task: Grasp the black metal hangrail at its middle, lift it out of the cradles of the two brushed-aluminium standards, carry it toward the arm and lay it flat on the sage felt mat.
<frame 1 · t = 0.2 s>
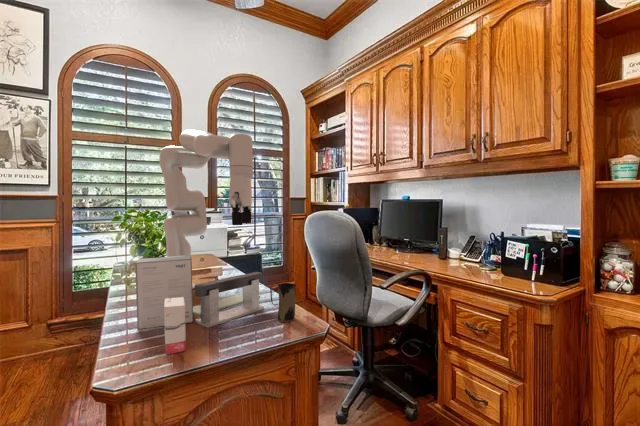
hand: (242, 224, 109), 30 cm above the table, fingers open, 9 cm apart
rack: (231, 315, 108), on the table
mug: (283, 320, 104), on the table
rail: (231, 288, 107), point 9 cm above the table, touching rack
mat: (225, 303, 120), on the table
ink box: (175, 347, 85), on the table
hard drive box: (166, 322, 102), on the table
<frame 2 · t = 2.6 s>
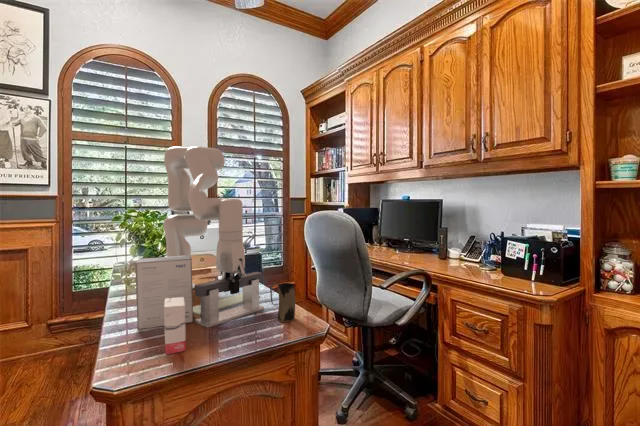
hand: (231, 291, 107), 8 cm above the table, fingers closed on rail, 3 cm apart
rail: (231, 288, 107), point 9 cm above the table, touching gripper, rack
everything else where it was.
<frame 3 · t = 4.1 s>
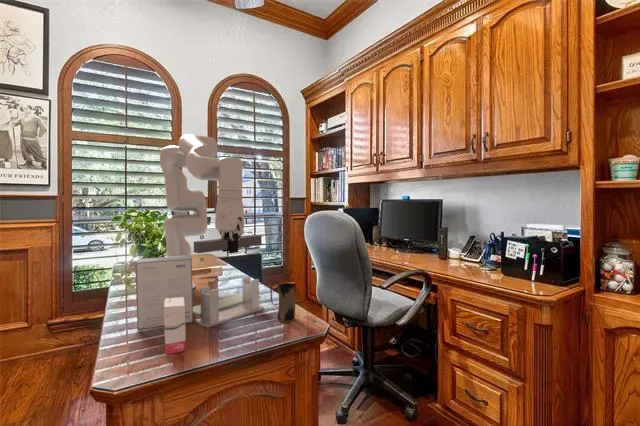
hand: (230, 251, 107), 21 cm above the table, fingers closed on rail, 3 cm apart
rail: (230, 248, 107), point 22 cm above the table, touching gripper
everything else where it was.
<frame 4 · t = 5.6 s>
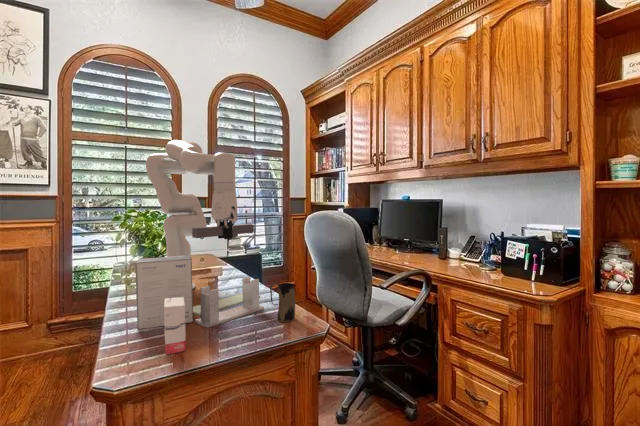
hand: (225, 238, 119), 24 cm above the table, fingers closed on rail, 3 cm apart
rail: (225, 234, 119), point 25 cm above the table, touching gripper
everything else where it was.
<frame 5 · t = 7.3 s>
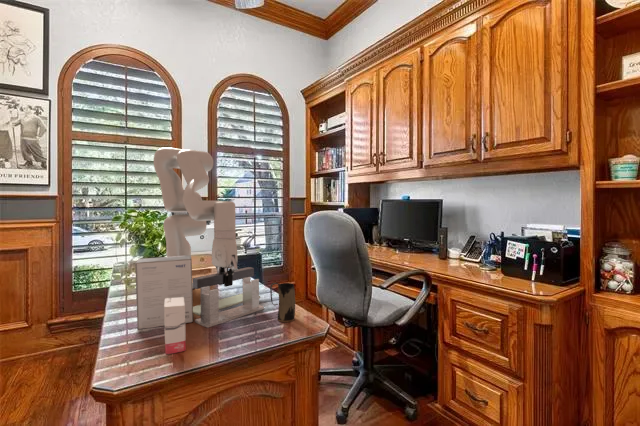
hand: (225, 284, 120), 7 cm above the table, fingers closed on rail, 3 cm apart
rail: (225, 281, 120), point 8 cm above the table, touching gripper
everything else where it was.
when the fingers open (1 cm above the table, at t = 8.8 s): rail drops 1 cm, resting on mat.
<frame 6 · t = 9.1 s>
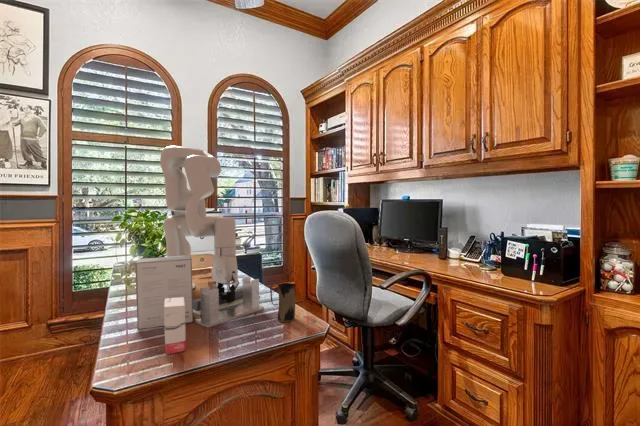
hand: (225, 299, 120), 1 cm above the table, fingers open, 5 cm apart
rail: (225, 301, 120), point 1 cm above the table, touching mat
everything else where it was.
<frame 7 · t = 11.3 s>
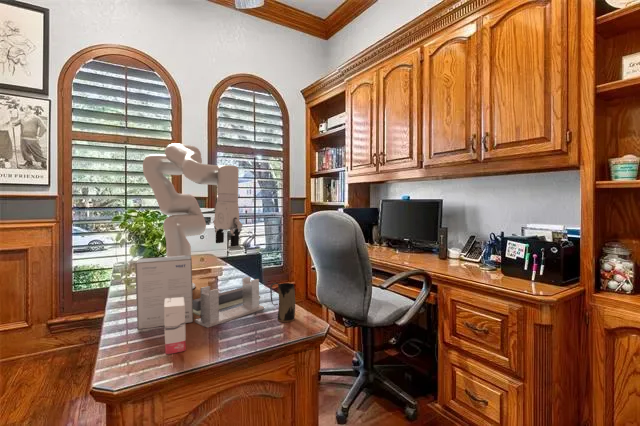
hand: (226, 244, 122), 21 cm above the table, fingers open, 9 cm apart
nothing on the table moved.
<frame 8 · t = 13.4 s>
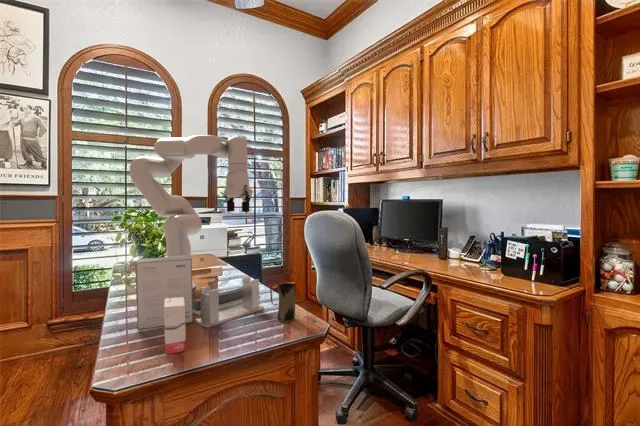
hand: (238, 211, 131), 33 cm above the table, fingers open, 9 cm apart
nothing on the table moved.
at the end: rail inside the target area on the mat (0.2 cm from its centre), point 0.6 cm above the mat's base; rail tilted 0°; the gripper is holding nothing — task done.
